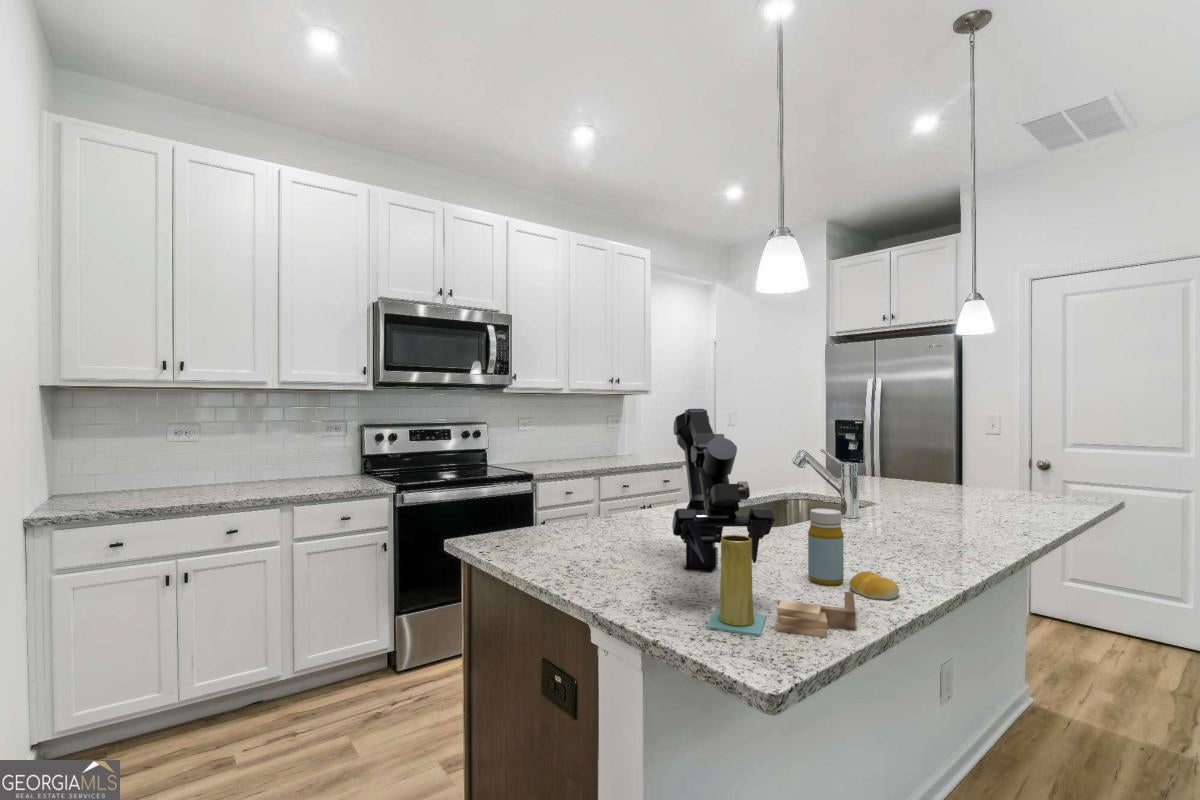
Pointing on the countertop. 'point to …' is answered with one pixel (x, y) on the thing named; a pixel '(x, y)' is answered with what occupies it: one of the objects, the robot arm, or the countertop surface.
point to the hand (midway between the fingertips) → (729, 561)
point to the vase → (736, 581)
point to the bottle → (825, 547)
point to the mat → (751, 629)
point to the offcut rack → (814, 617)
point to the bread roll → (874, 586)
